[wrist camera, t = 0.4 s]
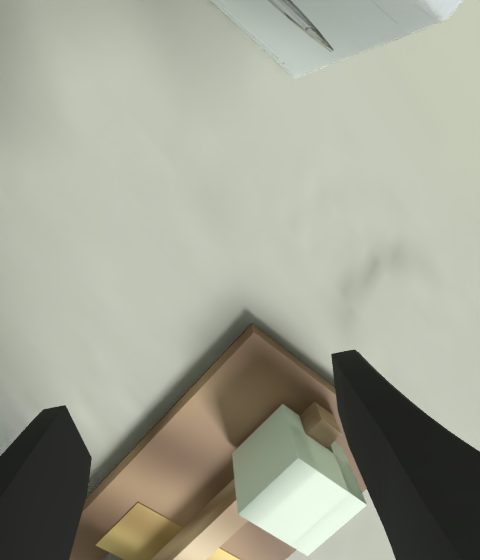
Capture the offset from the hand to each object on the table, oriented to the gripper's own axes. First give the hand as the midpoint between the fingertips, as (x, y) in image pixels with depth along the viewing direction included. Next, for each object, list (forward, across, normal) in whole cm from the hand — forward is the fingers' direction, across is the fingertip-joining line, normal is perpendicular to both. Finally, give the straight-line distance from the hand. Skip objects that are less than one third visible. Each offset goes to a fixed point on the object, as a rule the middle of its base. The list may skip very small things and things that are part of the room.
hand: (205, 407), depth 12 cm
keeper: (+8, -2, +11) cm, 14 cm away
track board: (+9, +2, +14) cm, 17 cm away
